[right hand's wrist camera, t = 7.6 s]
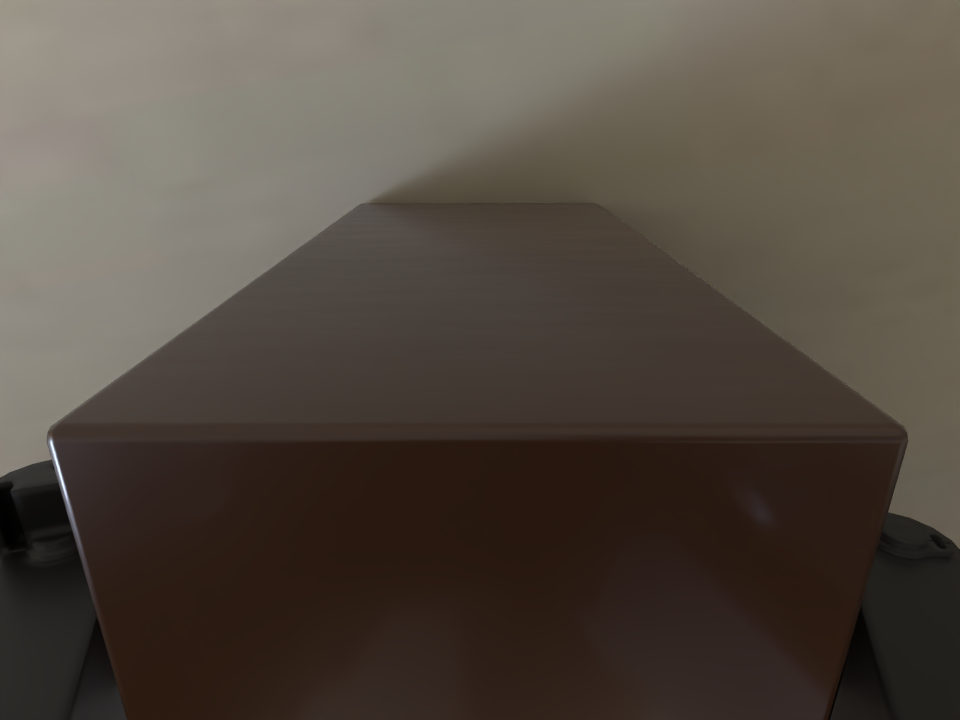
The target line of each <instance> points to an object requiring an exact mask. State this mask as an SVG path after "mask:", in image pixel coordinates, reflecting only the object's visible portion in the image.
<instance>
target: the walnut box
mask: <svg viewBox="0 0 960 720" xmlns="http://www.w3.org/2000/svg"><path fill="white" fill-rule="evenodd" d="M907 443H908V437H907V432H906V430H905V428H904V426H902V425H901V424H899V423H898V422H897V421H895V420H894V419H893V418H891V417H890V416H888V415H887V414H886V413H884V412H883V411H882V410H880V409H879V408H877V407H876V406H875V405H873V404H872V403H871V402H869V401H868V400H866V399H865V398H864V397H862V396H861V395H860V394H858V393H857V392H855V391H854V390H853V389H851V388H850V387H849V386H847V385H846V384H844V383H843V382H842V381H840V380H839V379H838V378H836V377H835V376H833V375H832V374H831V373H829V372H828V371H827V370H825V369H824V368H822V367H821V366H820V365H818V364H817V363H816V362H814V361H813V360H811V359H810V358H809V357H807V356H806V355H805V354H803V353H802V352H800V351H799V350H798V349H796V348H795V347H794V346H792V345H791V344H789V343H788V342H787V341H785V340H784V339H783V338H781V337H780V336H778V335H777V334H776V333H774V332H773V331H772V330H770V329H769V328H767V327H766V326H765V325H763V324H762V323H761V322H759V321H758V320H756V319H755V318H754V317H752V316H751V315H750V314H748V313H747V312H745V311H744V310H743V309H741V308H740V307H739V306H737V305H736V304H734V303H733V302H732V301H730V300H729V299H728V298H726V297H725V296H723V295H722V294H721V293H719V292H718V291H717V290H715V289H714V288H712V287H711V286H710V285H708V284H707V283H706V282H704V281H703V280H701V279H700V278H699V277H697V276H696V275H695V274H693V273H692V272H690V271H689V270H688V269H686V268H685V267H684V266H682V265H681V264H679V263H678V262H677V261H675V260H674V259H673V258H671V257H670V256H668V255H667V254H666V253H664V252H663V251H662V250H660V249H659V248H657V247H656V246H655V245H653V244H652V243H651V242H649V241H648V240H646V239H645V238H644V237H642V236H641V235H640V234H638V233H637V232H635V231H634V230H633V229H631V228H630V227H629V226H627V225H626V224H624V223H623V222H622V221H620V220H619V219H618V218H616V217H615V216H613V215H612V214H611V213H609V212H608V211H607V210H605V209H604V208H602V207H601V206H600V205H598V204H360V205H358V206H357V207H356V208H354V209H353V210H351V211H350V212H349V213H347V214H346V215H345V216H343V217H342V218H340V219H339V220H338V221H336V222H335V223H333V224H332V225H331V226H329V227H328V228H326V229H325V230H324V231H322V232H321V233H319V234H318V235H317V236H315V237H314V238H312V239H311V240H310V241H308V242H307V243H306V244H304V245H303V246H301V247H300V248H299V249H297V250H296V251H294V252H293V253H292V254H290V255H289V256H287V257H286V258H285V259H283V260H282V261H280V262H279V263H278V264H276V265H275V266H274V267H272V268H271V269H269V270H268V271H267V272H265V273H264V274H262V275H261V276H260V277H258V278H257V279H255V280H254V281H253V282H251V283H250V284H248V285H247V286H246V287H244V288H243V289H242V290H240V291H239V292H237V293H236V294H235V295H233V296H232V297H230V298H229V299H228V300H226V301H225V302H223V303H222V304H221V305H219V306H218V307H216V308H215V309H214V310H212V311H211V312H209V313H208V314H207V315H205V316H204V317H203V318H201V319H200V320H198V321H197V322H196V323H194V324H193V325H191V326H190V327H189V328H187V329H186V330H184V331H183V332H182V333H180V334H179V335H177V336H176V337H175V338H173V339H172V340H171V341H169V342H168V343H166V344H165V345H164V346H162V347H161V348H159V349H158V350H157V351H155V352H154V353H152V354H151V355H150V356H148V357H147V358H145V359H144V360H143V361H141V362H140V363H139V364H137V365H136V366H134V367H133V368H132V369H130V370H129V371H127V372H126V373H125V374H123V375H122V376H120V377H119V378H118V379H116V380H115V381H113V382H112V383H111V384H109V385H108V386H106V387H105V388H104V389H102V390H101V391H100V392H98V393H97V394H95V395H94V396H93V397H91V398H90V399H88V400H87V401H86V402H84V403H83V404H81V405H80V406H79V407H77V408H76V409H74V410H73V411H72V412H70V413H69V414H68V415H66V416H65V417H63V418H62V419H61V420H59V421H58V422H56V423H55V424H54V425H52V426H51V427H50V429H49V431H48V434H47V444H48V448H49V451H50V455H51V458H52V462H53V465H54V469H55V472H56V475H57V479H58V482H59V486H60V489H61V493H62V496H63V500H64V503H65V507H66V510H67V513H68V517H69V520H70V524H71V527H72V531H73V534H74V538H75V541H76V545H77V548H78V552H79V555H80V558H81V562H82V565H83V569H84V572H85V576H86V579H87V583H88V586H89V590H90V593H91V596H92V600H93V603H94V607H95V610H96V614H97V617H98V621H99V624H100V628H101V631H102V635H103V638H104V641H105V645H106V648H107V652H108V655H109V659H110V662H111V666H112V669H113V673H114V676H115V679H116V683H117V686H118V690H119V693H120V697H121V700H122V704H123V707H124V711H125V714H126V718H127V720H828V719H829V715H830V712H831V708H832V705H833V701H834V698H835V695H836V691H837V688H838V684H839V681H840V677H841V674H842V670H843V667H844V663H845V660H846V656H847V653H848V649H849V646H850V642H851V639H852V635H853V632H854V628H855V625H856V621H857V618H858V614H859V611H860V607H861V604H862V600H863V597H864V593H865V590H866V586H867V583H868V579H869V576H870V572H871V569H872V565H873V562H874V559H875V555H876V552H877V548H878V545H879V541H880V538H881V534H882V531H883V527H884V524H885V520H886V517H887V513H888V510H889V506H890V503H891V499H892V496H893V492H894V489H895V485H896V482H897V478H898V475H899V471H900V468H901V464H902V461H903V457H904V454H905V450H906V447H907Z"/></svg>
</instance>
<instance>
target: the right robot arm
mask: <svg viewBox="0 0 960 720" xmlns="http://www.w3.org/2000/svg"><path fill="white" fill-rule="evenodd" d="M0 720H127V718H126V714H125V711H124V707H123V704H122V700H121V697H120V693H119V690H118V686H117V683H116V679H115V676H114V673H113V669H112V666H111V662H110V659H109V655H108V652H107V648H106V645H105V641H104V638H103V635H102V631H101V628H100V624H99V621H98V617H97V614H96V610H95V607H94V603H93V600H92V596H91V593H90V590H89V586H88V583H87V579H86V576H85V572H84V569H83V565H82V562H81V558H80V555H79V552H78V548H77V545H76V541H75V538H74V534H73V531H72V527H71V524H70V520H69V517H68V513H67V510H66V507H65V503H64V500H63V496H62V493H61V489H60V486H59V482H58V479H57V475H56V472H55V469H54V465H53V462H52V460H49V461H44V462H40V463H35V464H32V465H29V466H26V467H24V468H21V469H18V470H16V471H13V472H10V473H8V474H6V475H5V476H3V477H1V478H0ZM828 720H960V549H959V548H958V547H957V546H956V545H955V544H954V543H953V541H952V540H950V539H949V538H947V537H946V536H944V535H943V534H941V533H940V532H938V531H937V530H935V529H934V528H932V527H929V526H927V525H925V524H923V523H920V522H918V521H916V520H913V519H911V518H908V517H904V516H900V515H896V514H892V513H889V512H888V513H887V517H886V520H885V524H884V527H883V531H882V534H881V538H880V541H879V545H878V548H877V552H876V555H875V559H874V562H873V565H872V569H871V572H870V576H869V579H868V583H867V586H866V590H865V593H864V597H863V600H862V604H861V607H860V611H859V614H858V618H857V621H856V625H855V628H854V632H853V635H852V639H851V642H850V646H849V649H848V653H847V656H846V660H845V663H844V667H843V670H842V674H841V677H840V681H839V684H838V688H837V691H836V695H835V698H834V701H833V705H832V708H831V712H830V715H829V719H828Z"/></svg>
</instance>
